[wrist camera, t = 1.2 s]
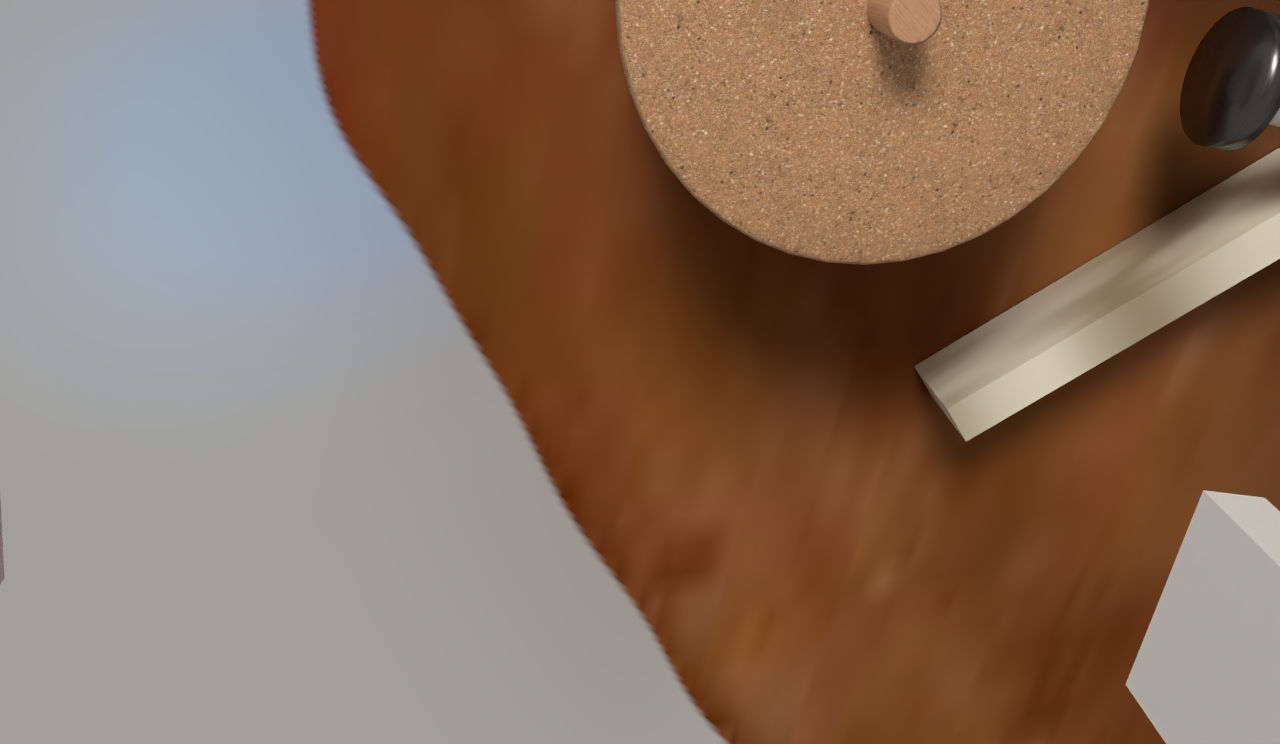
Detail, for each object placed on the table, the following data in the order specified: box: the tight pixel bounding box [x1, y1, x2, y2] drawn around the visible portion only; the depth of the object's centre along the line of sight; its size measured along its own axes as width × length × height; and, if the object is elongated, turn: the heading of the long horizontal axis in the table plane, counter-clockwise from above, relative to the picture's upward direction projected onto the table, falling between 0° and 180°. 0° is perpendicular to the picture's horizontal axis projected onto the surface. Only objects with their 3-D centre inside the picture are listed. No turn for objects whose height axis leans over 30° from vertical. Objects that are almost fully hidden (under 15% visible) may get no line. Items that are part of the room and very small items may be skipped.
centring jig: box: [914, 148, 1280, 441], centre depth 31 cm, size 22×9×3 cm, turn 167°
